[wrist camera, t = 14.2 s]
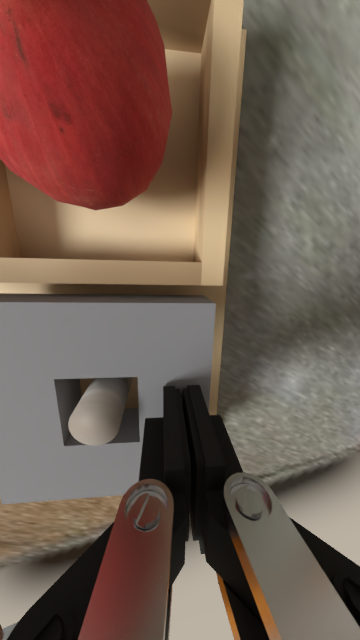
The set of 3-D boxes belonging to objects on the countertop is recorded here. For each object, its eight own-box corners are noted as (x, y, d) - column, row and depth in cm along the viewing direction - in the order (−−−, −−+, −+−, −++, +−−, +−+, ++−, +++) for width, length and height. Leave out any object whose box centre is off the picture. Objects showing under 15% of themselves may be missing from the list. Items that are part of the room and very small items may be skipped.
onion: (37, 208, 10) (-361, 23, 2) (46, 63, 9) (-784, -1405, 1) (154, 238, 11) (139, 171, 3) (179, 110, 10) (251, -523, 2)
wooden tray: (-54, 16, 9) (-376, -357, 4) (238, 52, 10) (325, -188, 5) (29, 436, 14) (-47, 536, 9) (211, 427, 16) (237, 510, 10)
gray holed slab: (-1, 293, 10) (-52, 301, 7) (203, 295, 11) (216, 303, 8) (32, 458, 12) (2, 504, 10) (196, 449, 13) (203, 488, 11)
